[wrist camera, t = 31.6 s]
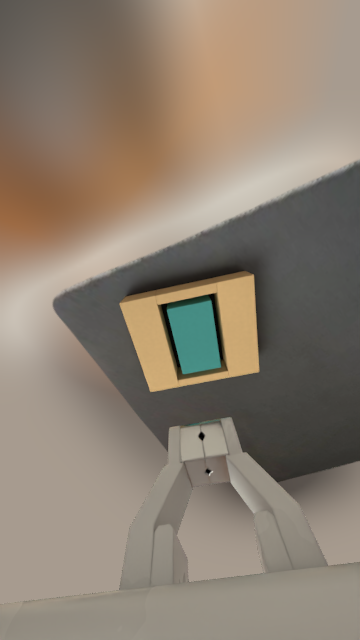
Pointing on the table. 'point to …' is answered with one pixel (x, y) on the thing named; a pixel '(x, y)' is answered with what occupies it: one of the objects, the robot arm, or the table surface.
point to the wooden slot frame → (233, 323)
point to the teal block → (194, 333)
